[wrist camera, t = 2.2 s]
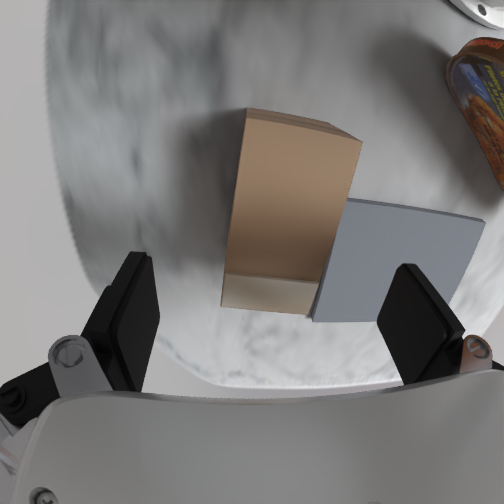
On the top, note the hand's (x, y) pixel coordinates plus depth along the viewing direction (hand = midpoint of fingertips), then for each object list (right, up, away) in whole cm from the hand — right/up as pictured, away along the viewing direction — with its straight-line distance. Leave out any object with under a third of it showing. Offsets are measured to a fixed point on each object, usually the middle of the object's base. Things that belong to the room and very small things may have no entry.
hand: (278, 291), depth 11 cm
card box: (0, +5, +6) cm, 8 cm away
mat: (+11, 0, +10) cm, 14 cm away
